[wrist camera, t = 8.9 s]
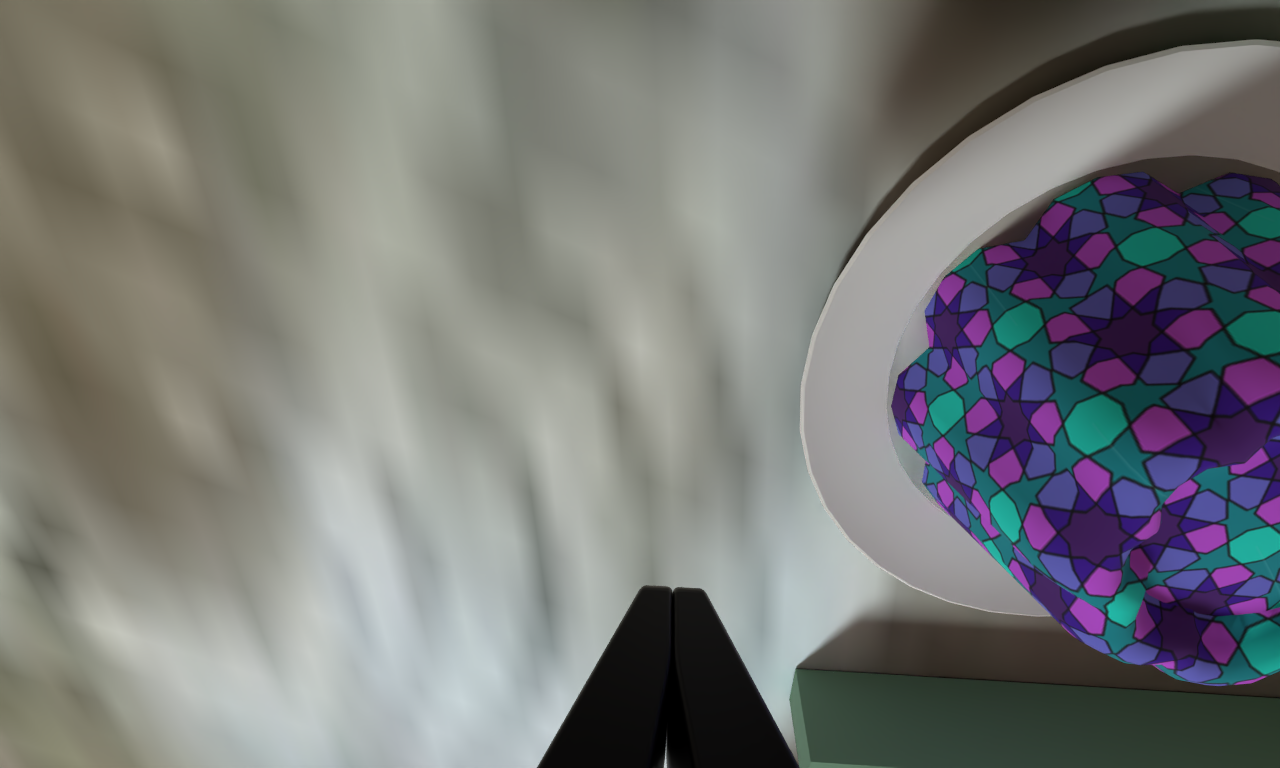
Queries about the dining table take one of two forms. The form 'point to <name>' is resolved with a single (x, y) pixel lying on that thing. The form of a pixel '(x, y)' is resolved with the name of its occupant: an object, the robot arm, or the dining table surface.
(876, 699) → the frame
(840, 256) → the dining table surface
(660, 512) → the dining table surface
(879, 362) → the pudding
